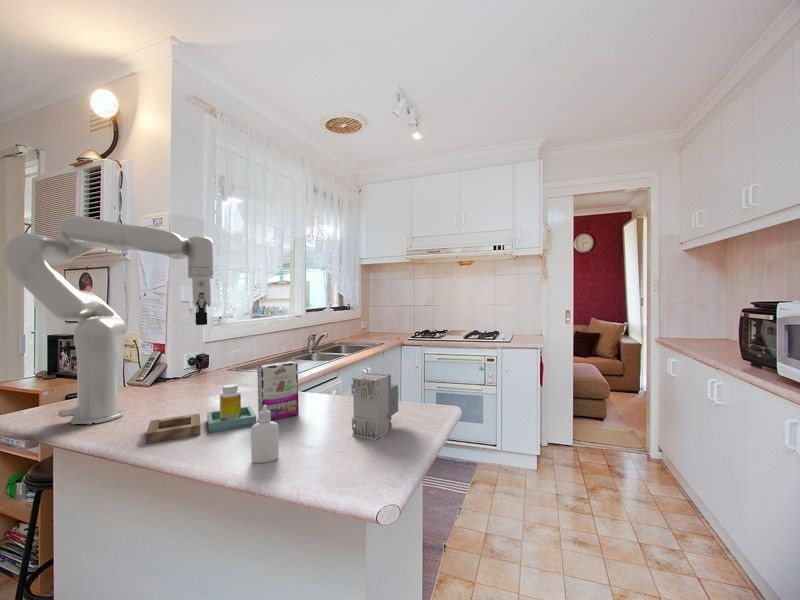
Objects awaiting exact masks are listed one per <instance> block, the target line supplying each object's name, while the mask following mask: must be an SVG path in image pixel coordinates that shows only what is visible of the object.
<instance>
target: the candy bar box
mask: <svg viewBox="0 0 800 600" xmlns="http://www.w3.org/2000/svg"><path fill="white" fill-rule="evenodd" d="M256 368H257V374H256V375H257V410H258V411H257V413H258V416H259V412H260V411H262V409H263V406H264V405H266V406H267V410H269V411H271V420H272V421H276V420H275V419H277V420H280V419H279V418H281V419H285V417H286V418H290V417H294V416H298V415H299V414H300V413H299V412H300V411H299V409H300V407H299V377H298V370H299V369H298V362H296V361H293V360H291V361H283V362H276V363H275V362H274V363H268V364H260V365H257V367H256ZM289 416H290V417H289ZM271 420H270V421H271Z"/></svg>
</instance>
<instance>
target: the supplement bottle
mask: <svg viewBox="0 0 800 600" xmlns="http://www.w3.org/2000/svg"><path fill="white" fill-rule="evenodd" d="M238 386H239V385H238V384H236V383H232V384H226V385H223V386H222V392H221V393H219V411H220V421H222V420H228V419H235V418H241V403H242V402H241V397H242V396H241V395H242V394H241V391H240V390H239V388H238Z"/></svg>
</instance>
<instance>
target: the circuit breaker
mask: <svg viewBox="0 0 800 600" xmlns="http://www.w3.org/2000/svg"><path fill="white" fill-rule="evenodd" d="M351 380H352V383H351V384H350V386H351V387H350V388H351V391H350V392H351V395H352V396H353V401H352V402H353V416H352V417H351V430H352V434H351V436H352V437H356V436H360V437H359V438H362V437H365V438H364V439H368V438H371V439H370V440H374V439H378V440H379V439H381V438H382V437H383V436H385V435H386V434H388V433H389V432H390V431H392V429H393V428H392V426H393V425H392V422H391V421H392V416H393V415H395V414H396V413H398V412H399V385H398V384H392V374H388V373H375V372H364V373H361V374H359V375H356V376H354V377H351ZM389 430H390V431H389ZM388 431H389V432H388ZM387 432H388V433H387ZM385 433H386V434H385ZM384 434H385V435H384ZM380 437H381V438H380Z"/></svg>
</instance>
